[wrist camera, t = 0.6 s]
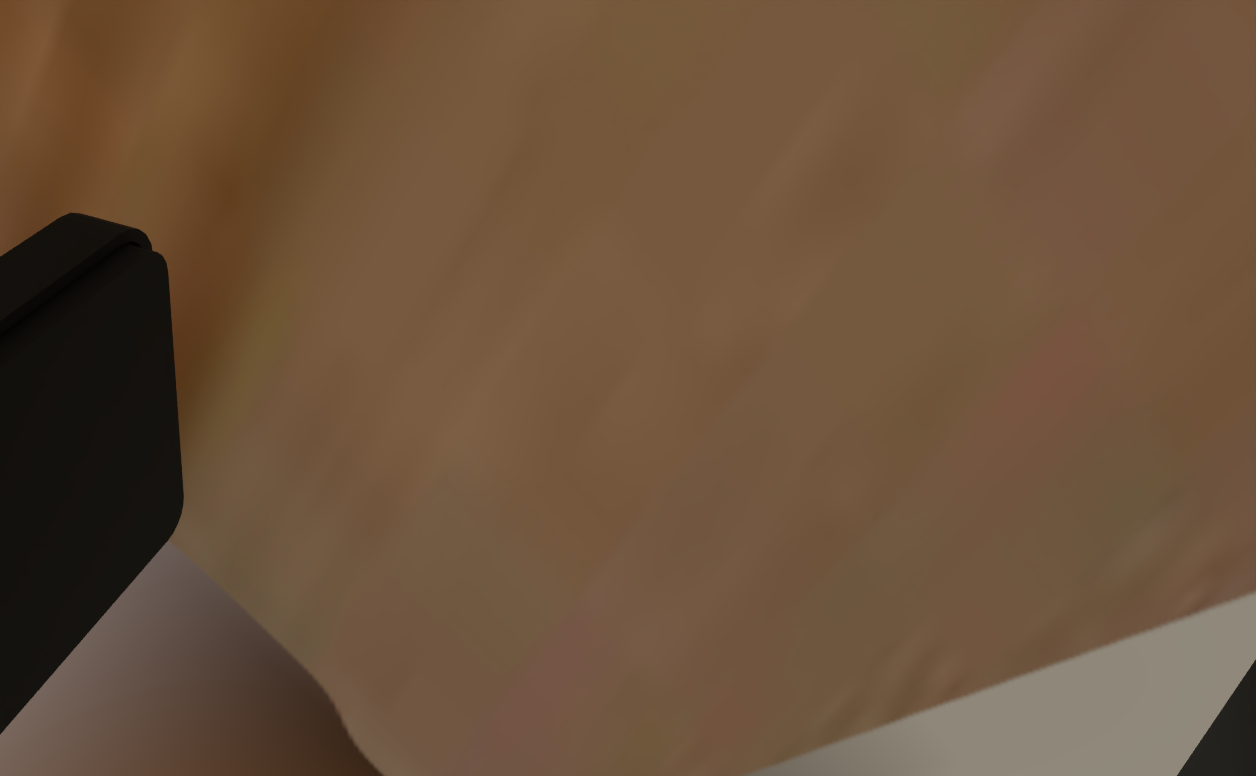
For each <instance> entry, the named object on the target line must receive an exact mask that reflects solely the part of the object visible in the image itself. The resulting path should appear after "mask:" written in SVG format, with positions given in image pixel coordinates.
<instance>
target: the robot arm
mask: <svg viewBox="0 0 1256 776" xmlns="http://www.w3.org/2000/svg"><path fill="white" fill-rule="evenodd" d="M183 499H184V494H183V480H182V465H181V451H180V436H179V422H178V407H177V393H176V378H175V364H174V350H173V335H172V321H171V306H170V292H169V277H168V269H167V263H166V261H165V259H164V257H163V256H162V255H161V254H159V253H158V252H155V251H152V245H151V243H150V241H149V239H148V237H147V235H146V234H145V233H143V232H142V231H141V230H139V229H136V228H132V227H129V226H125V225H121V224H118V223H114V222H110V221H106V220H103V219H99V218H95V217H92V216H88V215H84V214H81V213H69V214H67V215H64V216H62V217H60V218H58V219H57V220H55V221H54V222H52V223H51V224H49V225H48V226H46V227H45V228H43V229H42V230H40V231H39V232H37V233H36V234H34V235H33V236H31V237H30V238H28V239H27V240H25V241H24V242H22V243H21V244H19V245H18V246H16V247H15V248H13V249H11V250H10V251H8V252H7V253H5V254H4V255H2V256H1V257H0V734H1V733H2V732H3V731H4V729H5V728H6V727H7V726H8V725H9V724H10V722H11V721H12V720H13V719H14V718H15V717H16V715H17V714H18V713H19V712H20V711H21V710H22V709H23V707H24V706H25V705H26V704H27V703H28V702H29V700H30V699H31V698H32V697H33V696H34V695H35V694H36V692H37V691H38V690H39V689H40V688H41V687H42V685H43V684H44V683H45V682H46V681H47V680H48V679H49V677H50V676H51V675H52V674H53V673H54V672H55V670H56V669H57V668H58V667H59V666H60V665H61V663H62V662H63V661H64V660H65V659H66V657H68V655H69V654H70V653H71V652H72V651H73V649H74V648H75V647H76V646H77V645H78V644H79V643H80V642H81V640H82V639H83V638H84V637H85V636H86V635H87V633H88V632H89V631H90V630H91V629H92V628H93V626H94V625H95V624H96V623H97V622H98V621H99V620H100V618H101V617H102V616H103V615H104V614H105V613H106V611H107V610H108V609H109V608H110V607H111V606H112V604H113V603H114V602H115V601H116V600H117V599H118V597H119V596H120V595H121V594H122V593H123V592H124V591H125V589H126V588H127V587H128V586H129V585H130V584H131V583H132V581H133V580H134V579H135V578H136V577H137V576H138V574H139V573H140V572H141V571H142V570H143V569H144V567H145V566H146V565H147V564H148V563H149V562H150V561H151V559H152V558H153V557H154V556H155V555H156V554H157V552H158V551H159V550H160V549H161V548H162V547H163V545H164V544H165V543H166V542H167V541H168V540H169V538H170V537H171V535H172V534H173V532H174V530H175V528H176V526H177V524H178V522H179V519H180V516H181V513H182V508H183ZM1177 776H1256V660H1255V661H1254V663H1253V664H1252V666H1251V667H1250V669H1249V670H1248V672H1247V673H1246V675H1245V676H1244V678H1243V679H1242V681H1241V682H1240V684H1239V685H1238V687H1237V688H1236V689H1235V691H1234V693H1233V694H1232V695H1231V697H1230V698H1229V700H1228V701H1227V703H1226V704H1225V706H1224V707H1223V709H1222V710H1221V712H1220V713H1219V715H1218V716H1217V717H1216V719H1215V720H1214V722H1213V723H1212V725H1211V727H1210V728H1209V729H1208V731H1207V732H1206V734H1205V735H1204V737H1203V738H1202V740H1201V741H1200V743H1199V744H1198V746H1197V747H1196V748H1195V750H1194V751H1193V753H1192V754H1191V756H1190V757H1189V759H1188V760H1187V762H1186V763H1185V765H1184V766H1183V768H1182V769H1181V771H1180V772H1179V774H1178V775H1177Z"/></svg>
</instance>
